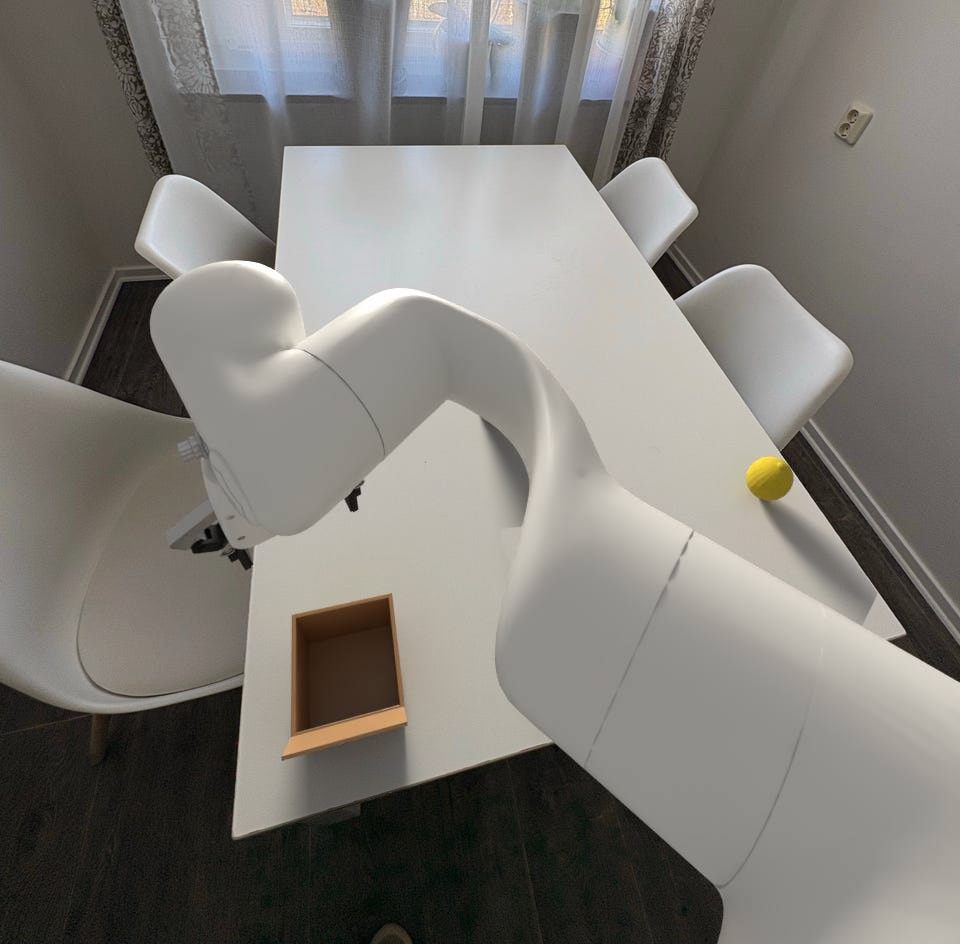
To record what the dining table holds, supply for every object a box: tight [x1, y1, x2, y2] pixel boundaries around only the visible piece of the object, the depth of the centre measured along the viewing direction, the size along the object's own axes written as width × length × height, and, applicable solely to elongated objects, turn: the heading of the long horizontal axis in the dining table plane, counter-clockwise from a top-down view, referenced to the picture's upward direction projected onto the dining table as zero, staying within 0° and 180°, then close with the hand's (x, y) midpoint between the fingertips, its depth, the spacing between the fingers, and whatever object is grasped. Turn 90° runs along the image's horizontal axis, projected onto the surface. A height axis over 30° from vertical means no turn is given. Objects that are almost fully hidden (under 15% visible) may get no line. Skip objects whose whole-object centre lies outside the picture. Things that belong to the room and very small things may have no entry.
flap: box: [280, 706, 408, 761], centre depth 44 cm, size 5×10×1 cm
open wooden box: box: [290, 592, 406, 737], centre depth 53 cm, size 10×10×10 cm
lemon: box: [745, 455, 795, 502], centre depth 75 cm, size 6×6×8 cm
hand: (298, 524), depth 48 cm, fingers open, 9 cm apart
